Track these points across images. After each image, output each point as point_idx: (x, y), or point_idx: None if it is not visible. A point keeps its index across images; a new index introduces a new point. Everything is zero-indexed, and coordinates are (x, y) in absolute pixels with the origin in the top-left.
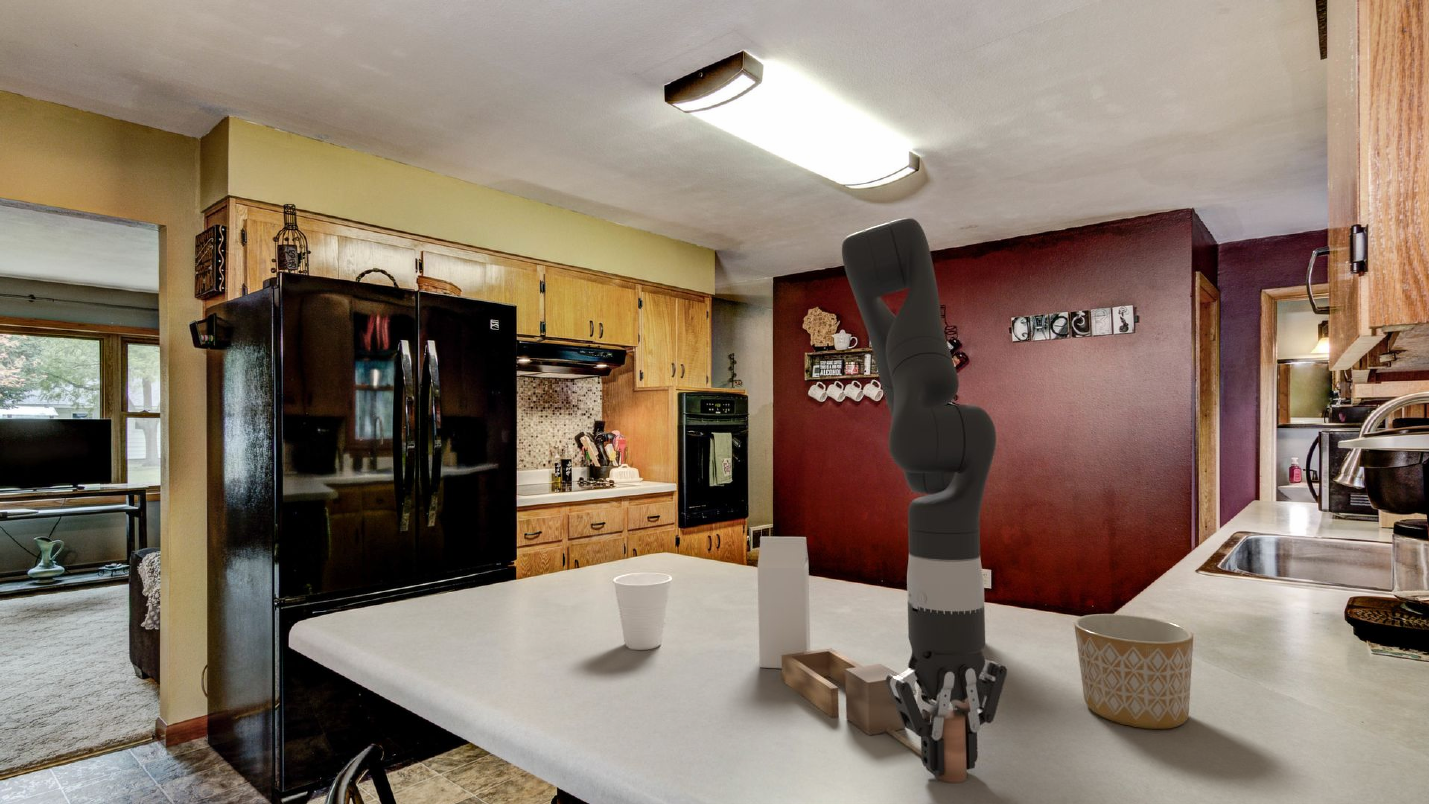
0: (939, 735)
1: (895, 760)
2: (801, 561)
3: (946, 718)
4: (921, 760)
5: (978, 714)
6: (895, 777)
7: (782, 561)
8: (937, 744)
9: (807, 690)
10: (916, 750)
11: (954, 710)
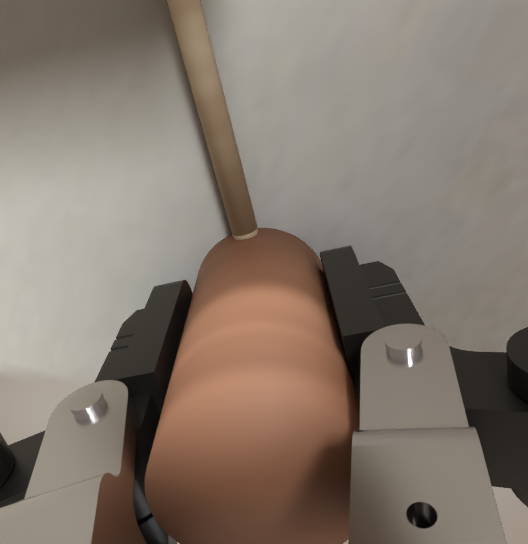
0: None
1: (63, 123)
2: None
3: (222, 526)
4: (122, 325)
5: (494, 482)
6: (31, 271)
7: None
8: None
9: None
10: (188, 73)
11: (353, 430)
